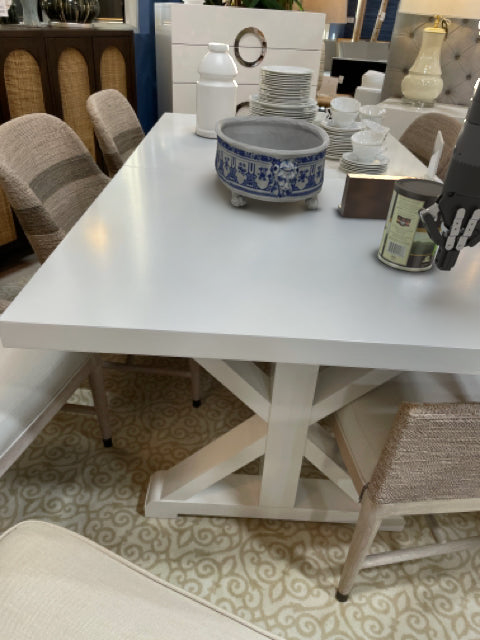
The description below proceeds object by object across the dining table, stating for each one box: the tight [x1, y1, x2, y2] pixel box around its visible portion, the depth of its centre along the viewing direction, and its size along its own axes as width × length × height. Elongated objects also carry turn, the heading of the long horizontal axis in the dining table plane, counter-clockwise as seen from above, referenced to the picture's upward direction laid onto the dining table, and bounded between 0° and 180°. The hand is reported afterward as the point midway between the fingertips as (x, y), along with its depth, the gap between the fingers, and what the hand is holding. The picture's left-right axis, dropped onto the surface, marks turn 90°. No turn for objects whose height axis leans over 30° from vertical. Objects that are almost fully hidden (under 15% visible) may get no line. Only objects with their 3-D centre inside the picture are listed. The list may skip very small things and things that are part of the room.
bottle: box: [195, 42, 239, 140], centre depth 160 cm, size 14×14×28 cm
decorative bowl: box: [214, 115, 331, 210], centre depth 115 cm, size 42×27×15 cm, turn 8°
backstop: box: [337, 173, 418, 220], centre depth 107 cm, size 16×5×9 cm, turn 93°
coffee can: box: [377, 177, 443, 272], centre depth 86 cm, size 10×10×14 cm
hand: (442, 268), depth 75 cm, fingers closed
